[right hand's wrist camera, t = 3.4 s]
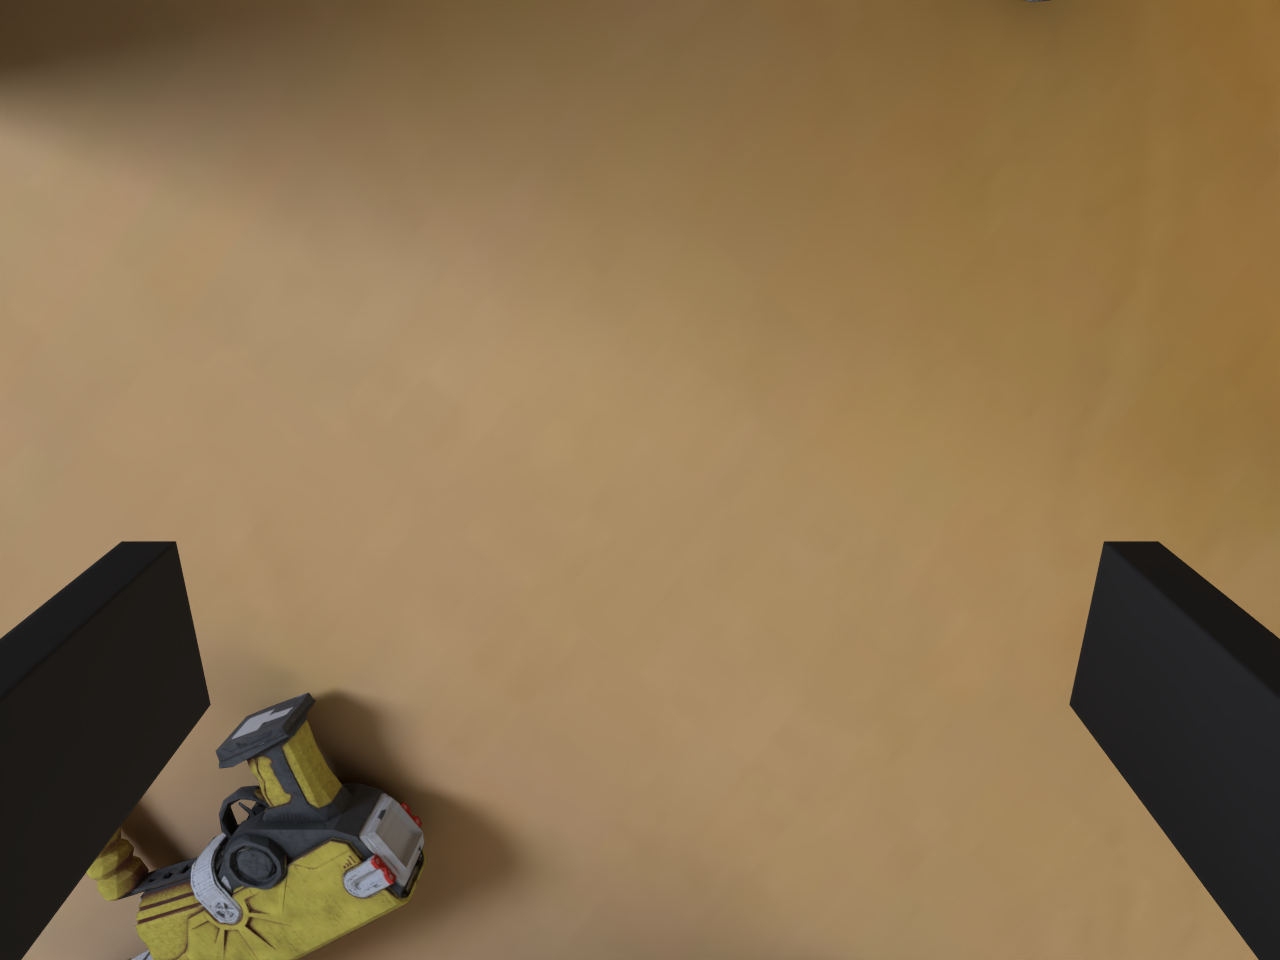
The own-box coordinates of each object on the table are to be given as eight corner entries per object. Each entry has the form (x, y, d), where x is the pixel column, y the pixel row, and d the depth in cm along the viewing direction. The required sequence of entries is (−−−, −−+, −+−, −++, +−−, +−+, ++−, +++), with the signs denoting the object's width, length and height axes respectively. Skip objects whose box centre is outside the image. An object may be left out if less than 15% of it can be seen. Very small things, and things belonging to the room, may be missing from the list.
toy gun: (-98, 886, 47) (98, 1072, 50) (224, 680, 41) (423, 906, 44) (-27, 825, 52) (149, 999, 55) (273, 632, 46) (450, 840, 49)
